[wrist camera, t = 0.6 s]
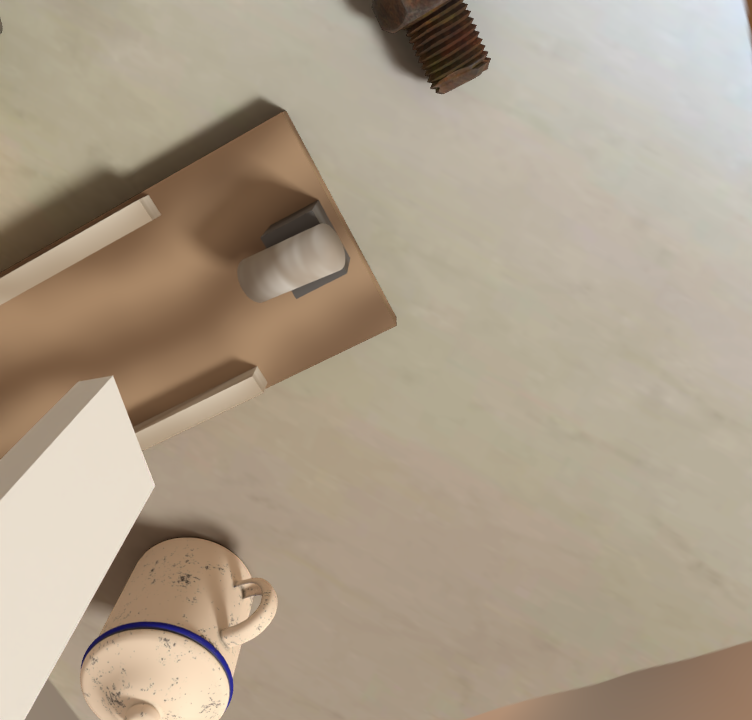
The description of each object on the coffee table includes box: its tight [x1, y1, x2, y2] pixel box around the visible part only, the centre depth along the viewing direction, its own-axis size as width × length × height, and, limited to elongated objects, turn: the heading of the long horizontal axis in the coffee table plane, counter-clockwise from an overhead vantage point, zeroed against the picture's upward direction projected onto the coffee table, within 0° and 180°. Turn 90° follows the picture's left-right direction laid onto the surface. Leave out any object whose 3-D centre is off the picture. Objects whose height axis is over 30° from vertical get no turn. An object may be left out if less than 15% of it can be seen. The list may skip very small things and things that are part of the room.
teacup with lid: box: [80, 538, 277, 720], centre depth 42 cm, size 12×9×12 cm
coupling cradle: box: [0, 111, 397, 460], centre depth 37 cm, size 13×29×7 cm, turn 117°
